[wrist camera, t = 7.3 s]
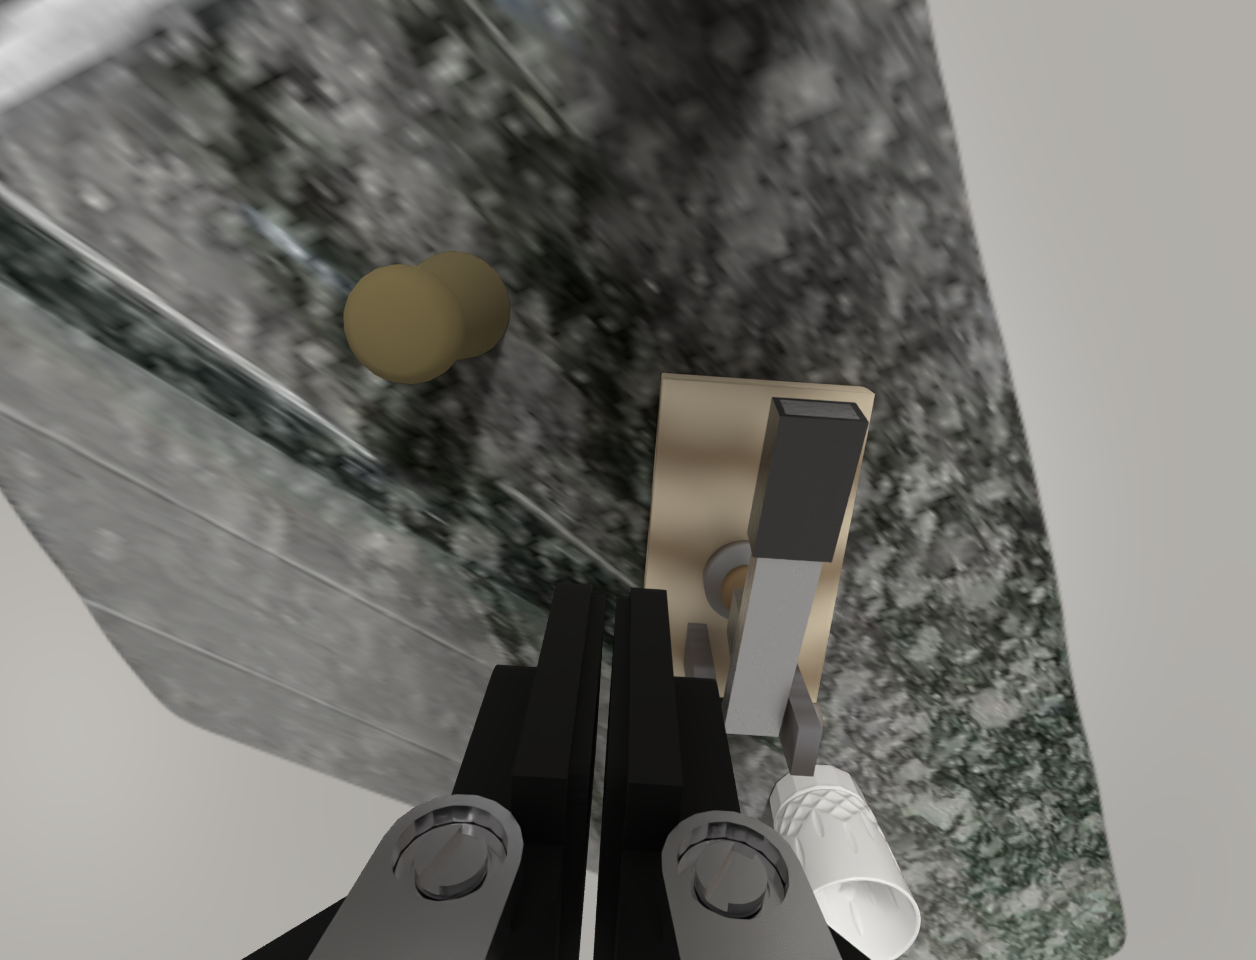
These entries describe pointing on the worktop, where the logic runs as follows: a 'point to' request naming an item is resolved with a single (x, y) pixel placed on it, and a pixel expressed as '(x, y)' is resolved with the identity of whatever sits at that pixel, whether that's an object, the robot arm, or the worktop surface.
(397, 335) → the cork
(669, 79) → the worktop surface
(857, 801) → the white cup
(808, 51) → the worktop surface
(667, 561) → the nutcracker base
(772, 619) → the lever
